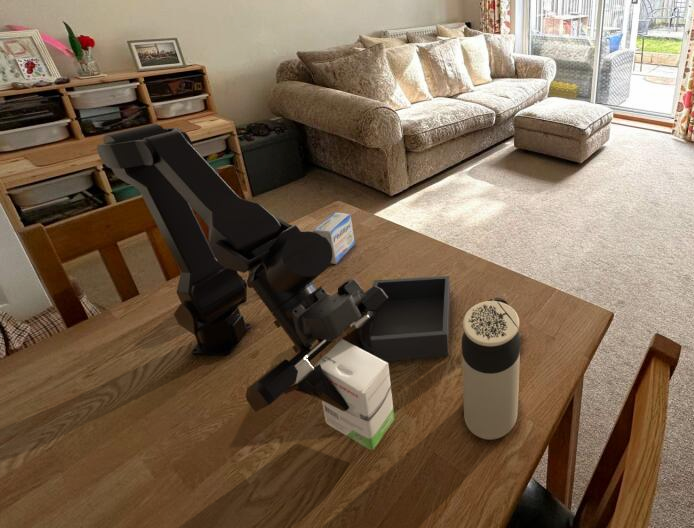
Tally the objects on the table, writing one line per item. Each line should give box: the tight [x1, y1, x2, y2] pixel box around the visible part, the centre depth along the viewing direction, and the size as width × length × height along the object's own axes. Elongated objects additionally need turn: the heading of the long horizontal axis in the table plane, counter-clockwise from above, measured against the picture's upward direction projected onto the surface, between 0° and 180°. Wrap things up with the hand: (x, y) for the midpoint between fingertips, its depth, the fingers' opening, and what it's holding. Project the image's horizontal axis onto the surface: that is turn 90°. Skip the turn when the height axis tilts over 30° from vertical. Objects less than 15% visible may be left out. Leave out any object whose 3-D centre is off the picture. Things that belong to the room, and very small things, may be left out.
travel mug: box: [461, 300, 521, 440], centre depth 57 cm, size 8×8×18 cm
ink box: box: [314, 338, 395, 451], centre depth 54 cm, size 9×5×12 cm, turn 66°
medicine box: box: [312, 212, 356, 265], centre depth 93 cm, size 8×4×9 cm, turn 168°
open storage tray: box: [367, 275, 451, 362], centre depth 74 cm, size 15×15×5 cm
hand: (362, 392), depth 53 cm, fingers closed on ink box, 5 cm apart
